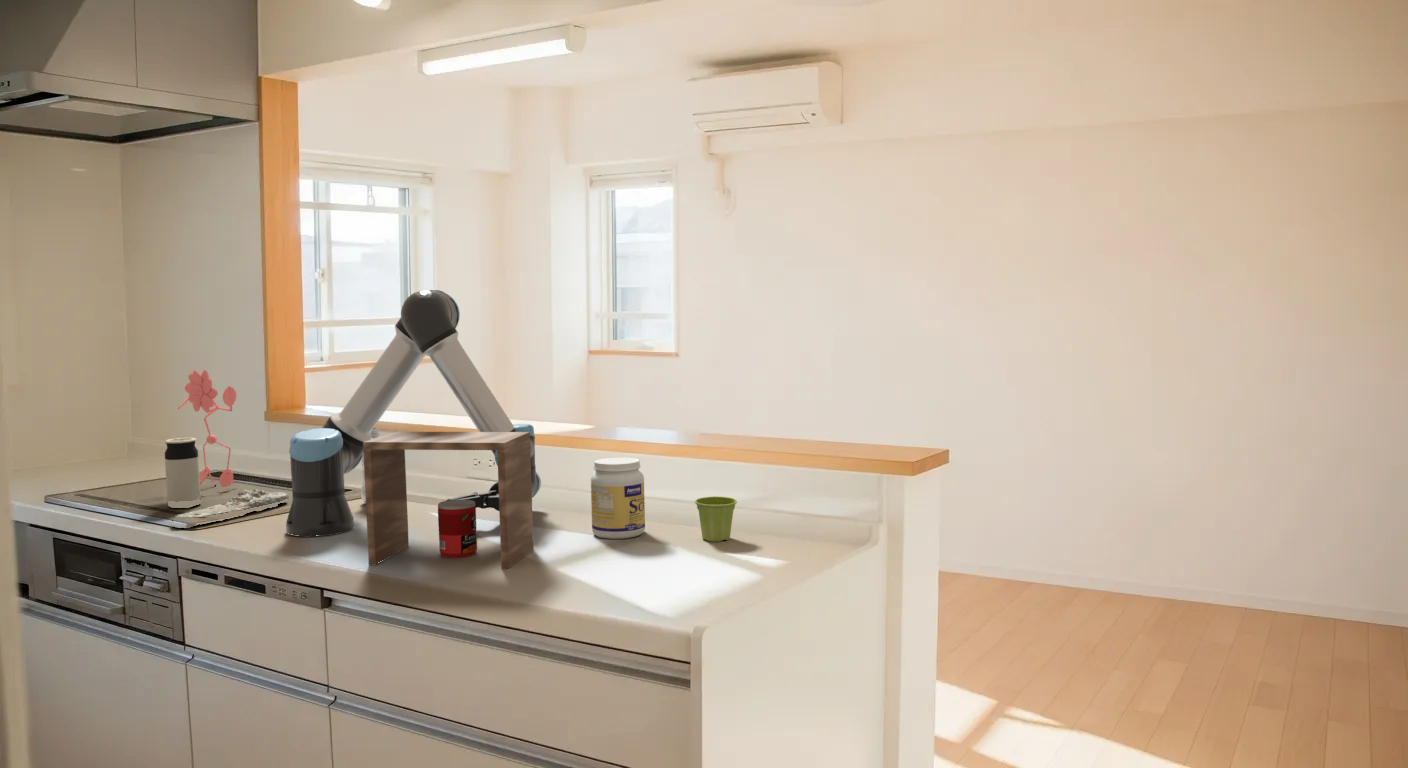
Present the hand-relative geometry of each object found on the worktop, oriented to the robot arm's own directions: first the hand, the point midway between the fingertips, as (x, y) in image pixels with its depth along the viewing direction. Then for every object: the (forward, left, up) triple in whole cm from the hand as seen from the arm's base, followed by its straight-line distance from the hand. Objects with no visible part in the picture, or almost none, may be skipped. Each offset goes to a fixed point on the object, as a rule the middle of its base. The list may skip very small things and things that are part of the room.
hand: (476, 512), depth 240 cm
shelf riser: (0, -14, -7) cm, 15 cm away
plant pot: (+53, +7, -7) cm, 54 cm away
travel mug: (-94, +32, -7) cm, 100 cm away
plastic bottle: (-44, +40, -7) cm, 60 cm away
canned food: (0, -11, -7) cm, 13 cm away
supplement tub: (+30, +10, -7) cm, 32 cm away
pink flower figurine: (-102, +53, -7) cm, 115 cm away
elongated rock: (-74, +23, -7) cm, 78 cm away
